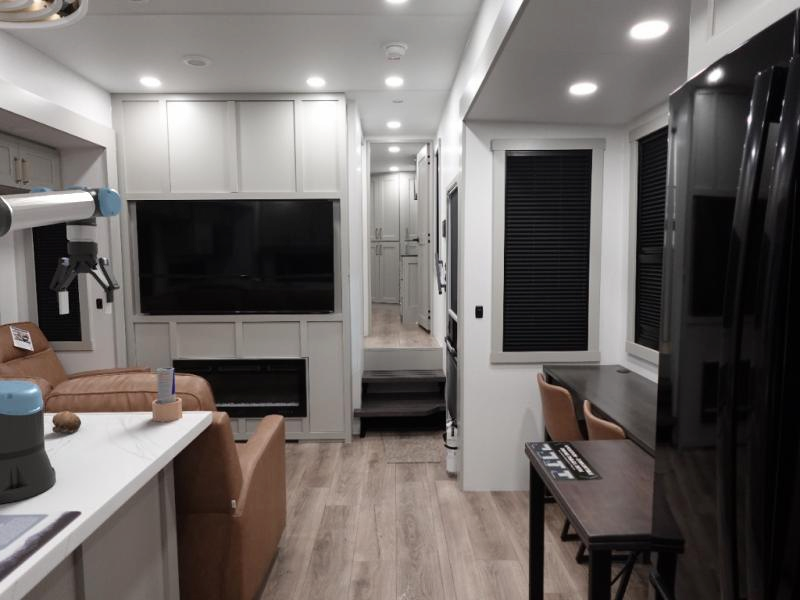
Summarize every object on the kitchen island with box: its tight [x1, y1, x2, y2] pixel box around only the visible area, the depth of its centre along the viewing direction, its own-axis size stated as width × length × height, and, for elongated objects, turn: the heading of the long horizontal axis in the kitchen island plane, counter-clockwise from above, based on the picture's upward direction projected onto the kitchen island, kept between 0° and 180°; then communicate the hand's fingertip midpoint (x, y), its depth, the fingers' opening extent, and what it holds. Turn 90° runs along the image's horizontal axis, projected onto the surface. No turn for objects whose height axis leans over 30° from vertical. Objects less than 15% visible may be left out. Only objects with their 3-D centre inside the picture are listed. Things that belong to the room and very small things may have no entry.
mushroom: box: [51, 410, 82, 434], centre depth 153 cm, size 8×8×6 cm
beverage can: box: [156, 366, 176, 404], centre depth 166 cm, size 5×5×15 cm
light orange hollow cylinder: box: [151, 397, 183, 423], centre depth 166 cm, size 9×9×6 cm
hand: (85, 314), depth 152 cm, fingers open, 13 cm apart
